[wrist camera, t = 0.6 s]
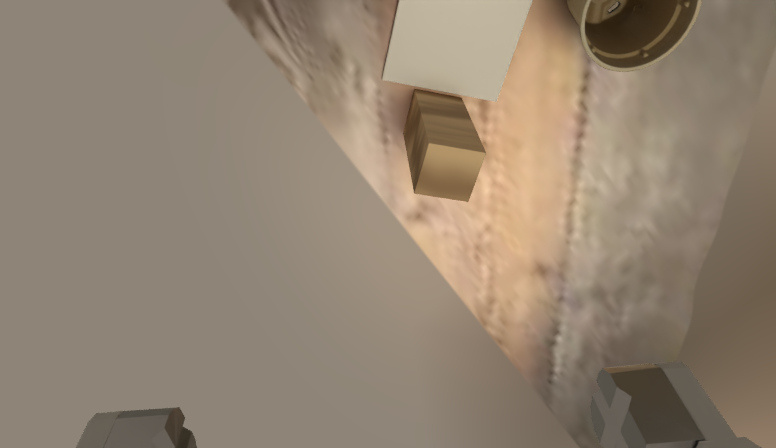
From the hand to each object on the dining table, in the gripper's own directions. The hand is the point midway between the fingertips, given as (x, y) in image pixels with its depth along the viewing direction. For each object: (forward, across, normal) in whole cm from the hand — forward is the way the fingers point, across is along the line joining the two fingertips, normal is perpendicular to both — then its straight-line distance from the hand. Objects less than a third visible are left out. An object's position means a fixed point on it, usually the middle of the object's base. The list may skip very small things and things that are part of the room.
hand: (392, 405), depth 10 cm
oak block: (+44, -6, +13) cm, 47 cm away
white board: (+44, -9, +3) cm, 45 cm away
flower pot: (+44, -22, +2) cm, 49 cm away
